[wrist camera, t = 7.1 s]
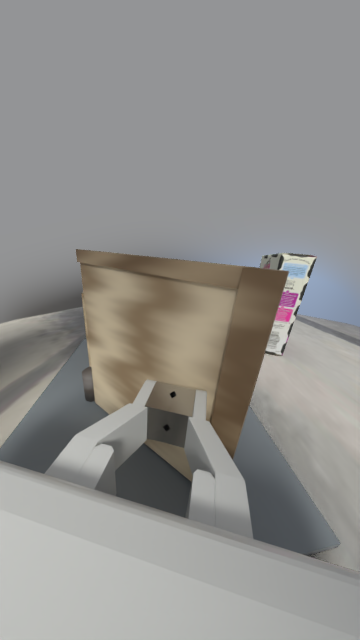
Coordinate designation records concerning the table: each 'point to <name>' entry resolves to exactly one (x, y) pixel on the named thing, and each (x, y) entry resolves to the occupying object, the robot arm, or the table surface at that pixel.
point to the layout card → (163, 479)
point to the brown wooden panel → (178, 333)
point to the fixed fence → (87, 371)
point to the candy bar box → (287, 294)
